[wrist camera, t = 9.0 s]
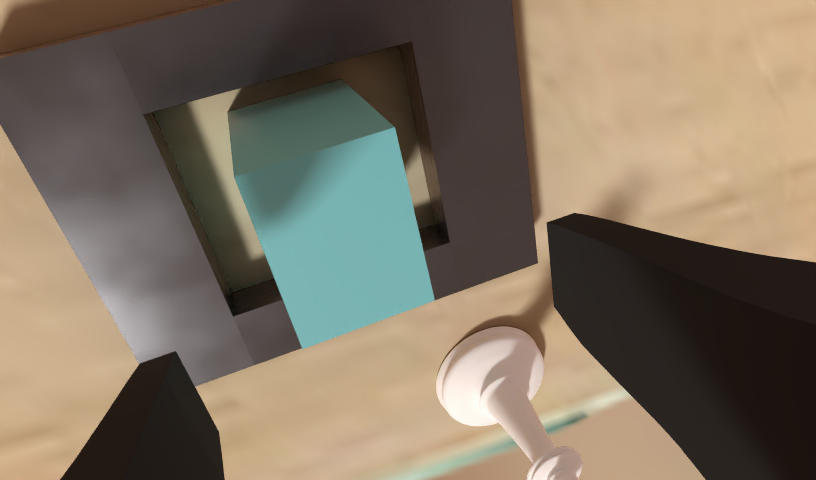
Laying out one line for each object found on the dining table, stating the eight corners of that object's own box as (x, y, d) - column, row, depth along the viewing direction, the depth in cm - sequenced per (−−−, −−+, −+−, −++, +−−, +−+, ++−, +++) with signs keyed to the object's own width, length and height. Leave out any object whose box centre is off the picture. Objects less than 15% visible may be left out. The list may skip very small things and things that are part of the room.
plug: (341, 78, 18) (395, 127, 12) (377, 213, 20) (434, 300, 15) (227, 111, 17) (234, 176, 12) (278, 246, 19) (302, 348, 14)
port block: (482, -64, 17) (504, -66, 16) (519, 245, 22) (537, 263, 21) (-12, 57, 15) (-33, 66, 13) (162, 371, 20) (159, 398, 19)
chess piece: (546, 319, 24) (726, 510, 16) (528, 407, 27) (679, 618, 18) (441, 332, 23) (577, 551, 14) (431, 425, 25) (544, 663, 17)
